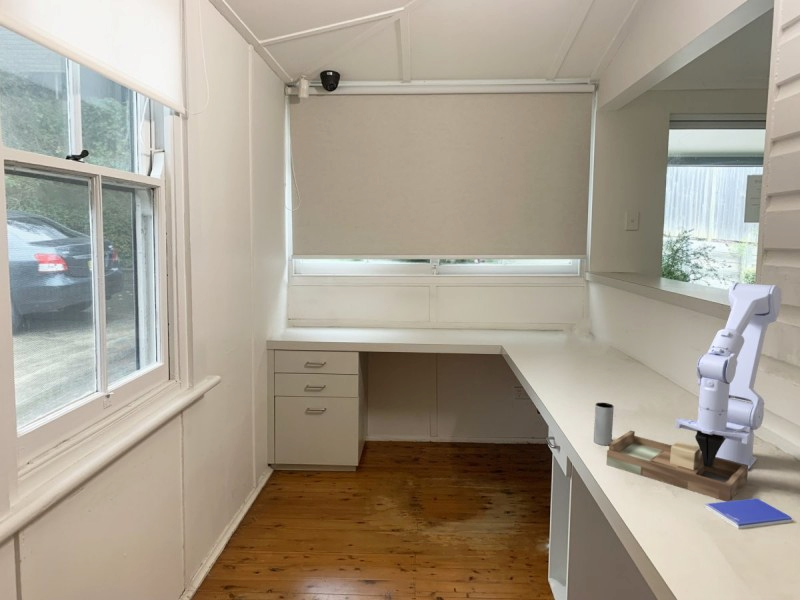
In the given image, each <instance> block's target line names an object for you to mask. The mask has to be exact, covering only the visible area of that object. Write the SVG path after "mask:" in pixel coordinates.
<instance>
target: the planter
mask: <svg viewBox="0 0 800 600" xmlns="http://www.w3.org/2000/svg"><path fill="white" fill-rule="evenodd" d="M614 409H615V406H614V405H613V404H611V403H608V402H596V403H595V405H594V425H593V442H594V443H595V444H597V445H599V446H600V445H601V446H609V443H611V442H613V427H614V426H613V425H614V423H613V422H614V411H615V410H614Z"/></svg>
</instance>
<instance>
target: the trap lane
mask: <svg viewBox="0 0 800 600" xmlns="http://www.w3.org/2000/svg"><path fill="white" fill-rule="evenodd" d="M635 433H636V432H635V430H634V431H633V430H630V431H628V432H626V433H624V434H623V435H621V436H619V437H618V438H616V439H614V440H612V442H611V443H609V445H608V446H609V447H608V450H606V462H605V463H606V465H607V466H610V467H613V468H615V469H618V470H622V471H626V472H628V473H632V474H635V475H639V476H643V477H646V478H649V479H651V480H655V481H659V482H662V483H666V484H668V485H671V486H674V487H678V488H681V489H684V490H689V491H692V492H694V493H698V494H701V495H704V496H707V497H711V498H714V499H718V500H720V501H722V502H727V501H733V499H734V497H735V496H736V494H737V493H738V492H739V491H740V489H741V488H743V486H744V485H745V483H746V482H747V481H748V474H749V473H748V472H749V470H748V465H746V464H742V463H738V462H734V461H730V460H726V459H722V458H719V457H715V459H714V463H713V466H712V467H711V468H710V467H706V466H704V462H703V456H702V453H701V457H700V464H699V465H698V466H697V467H696V468H695V469H694V470H692V469H689V468H685V467H682V466H678V465H674V464H671V463H670V455H671V446H673V445H671V444H667V443H664V442H659V441H656V440H654V439H649V438H645V437H641V436H637V435H635Z"/></svg>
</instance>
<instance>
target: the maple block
mask: <svg viewBox="0 0 800 600" xmlns="http://www.w3.org/2000/svg"><path fill="white" fill-rule="evenodd" d="M700 457H701V450H700V447H699V445H694V444H690V443H687V442H683V441H676V443H674V444H673V445H672V446H671V455H670V463H671V464H674V465H678V466H682V467H685V468H689V469H692V470H694V469H695V468H696V467H697V466H698V465H699V464H700Z"/></svg>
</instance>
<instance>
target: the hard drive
mask: <svg viewBox="0 0 800 600" xmlns="http://www.w3.org/2000/svg"><path fill="white" fill-rule="evenodd" d="M704 508H705V509H706V510H708V511H709V512H710V513H712V514H714V515H715V516H717V517H718V518H720V519H722V520H724V521H725V522H727V523H728V524H729V525H732V526H733V527H735V528H736V529H738V530H740V529H746V528H755V527H762V526H770V525H779V524H786V523H792V521H793V518H792V517H791V516H790V515H788V514H787V513H785V512H783V511H781V510H779V509H777V508H776V507H774V506H772V505H771V504H769V503H767V502H765V501H763V500H761V499H759V498H758V497H757V498H747V499H740V500H739V499H737V500H731V501H720V502H711V503H704Z"/></svg>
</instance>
